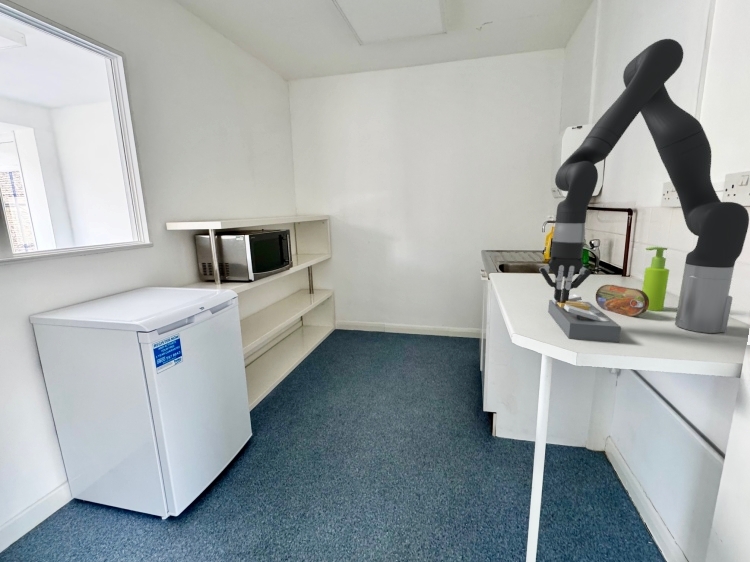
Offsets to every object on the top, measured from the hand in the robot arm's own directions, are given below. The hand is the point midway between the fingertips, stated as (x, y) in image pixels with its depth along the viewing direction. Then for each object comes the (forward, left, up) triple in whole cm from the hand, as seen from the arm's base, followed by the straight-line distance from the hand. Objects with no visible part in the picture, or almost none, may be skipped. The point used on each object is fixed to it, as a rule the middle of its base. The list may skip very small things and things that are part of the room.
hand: (560, 301), depth 96 cm
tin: (-21, -17, -7) cm, 28 cm away
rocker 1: (-3, -7, -1) cm, 8 cm away
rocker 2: (-3, 0, -1) cm, 3 cm away
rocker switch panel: (-5, 0, -6) cm, 8 cm away
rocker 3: (-3, +7, -1) cm, 8 cm away
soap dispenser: (-32, -24, -7) cm, 41 cm away
